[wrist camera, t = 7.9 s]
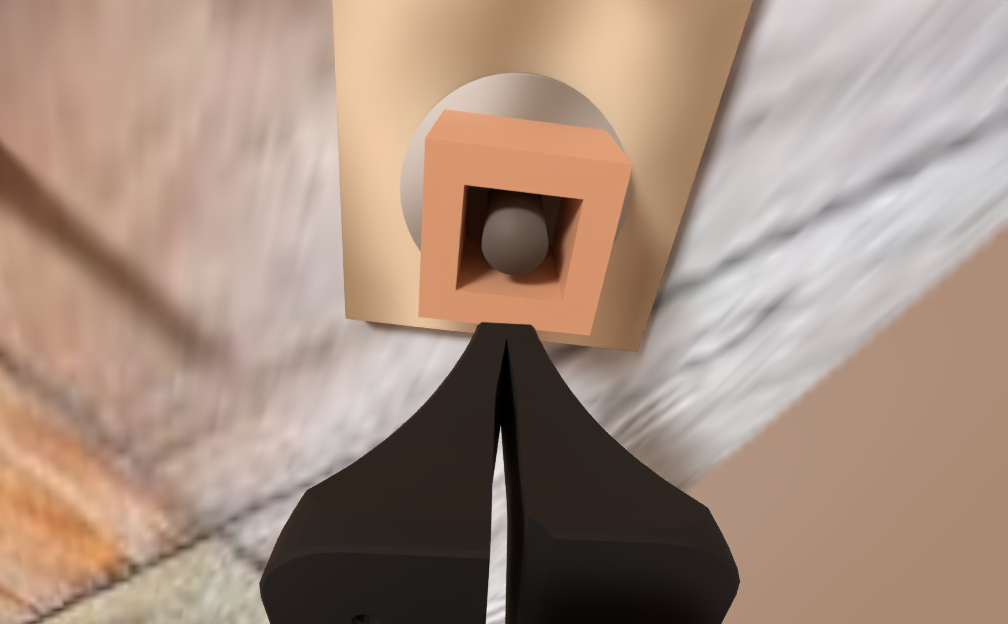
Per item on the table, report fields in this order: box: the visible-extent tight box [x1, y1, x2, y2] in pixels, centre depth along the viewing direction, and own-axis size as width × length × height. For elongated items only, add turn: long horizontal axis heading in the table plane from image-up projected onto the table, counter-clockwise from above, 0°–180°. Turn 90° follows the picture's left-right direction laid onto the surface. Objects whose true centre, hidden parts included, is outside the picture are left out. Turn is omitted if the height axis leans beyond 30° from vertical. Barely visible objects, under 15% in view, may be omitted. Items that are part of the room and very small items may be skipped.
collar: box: [418, 109, 633, 336], centre depth 15 cm, size 5×5×4 cm
